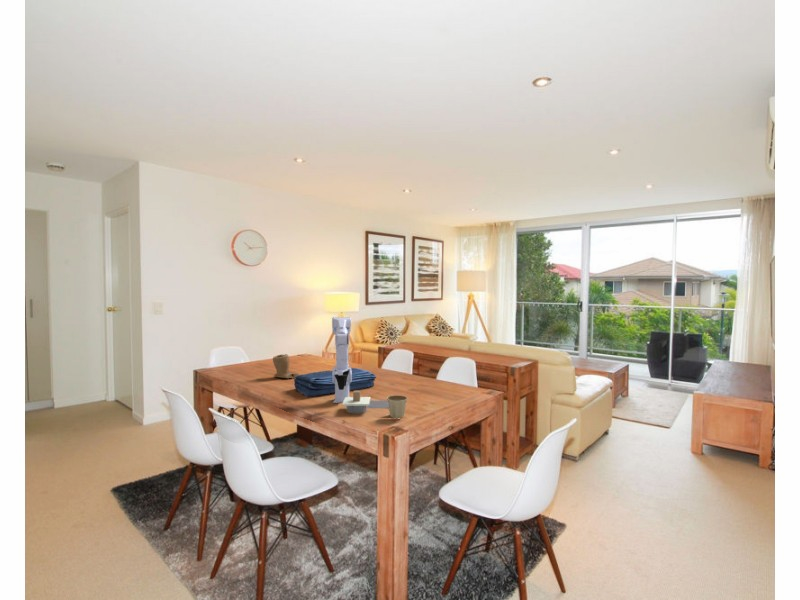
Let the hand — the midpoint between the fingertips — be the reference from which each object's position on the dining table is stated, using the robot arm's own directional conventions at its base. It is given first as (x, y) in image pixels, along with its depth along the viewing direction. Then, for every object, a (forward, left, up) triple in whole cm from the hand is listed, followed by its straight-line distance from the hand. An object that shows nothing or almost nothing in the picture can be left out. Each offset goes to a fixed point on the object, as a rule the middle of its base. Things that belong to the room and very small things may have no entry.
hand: (342, 387), depth 200 cm
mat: (-7, +18, -10) cm, 22 cm away
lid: (+3, +7, -6) cm, 10 cm away
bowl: (+3, +7, -10) cm, 13 cm away
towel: (-42, -10, -11) cm, 45 cm away
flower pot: (+11, +26, -11) cm, 30 cm away
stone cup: (-70, -46, -11) cm, 84 cm away
